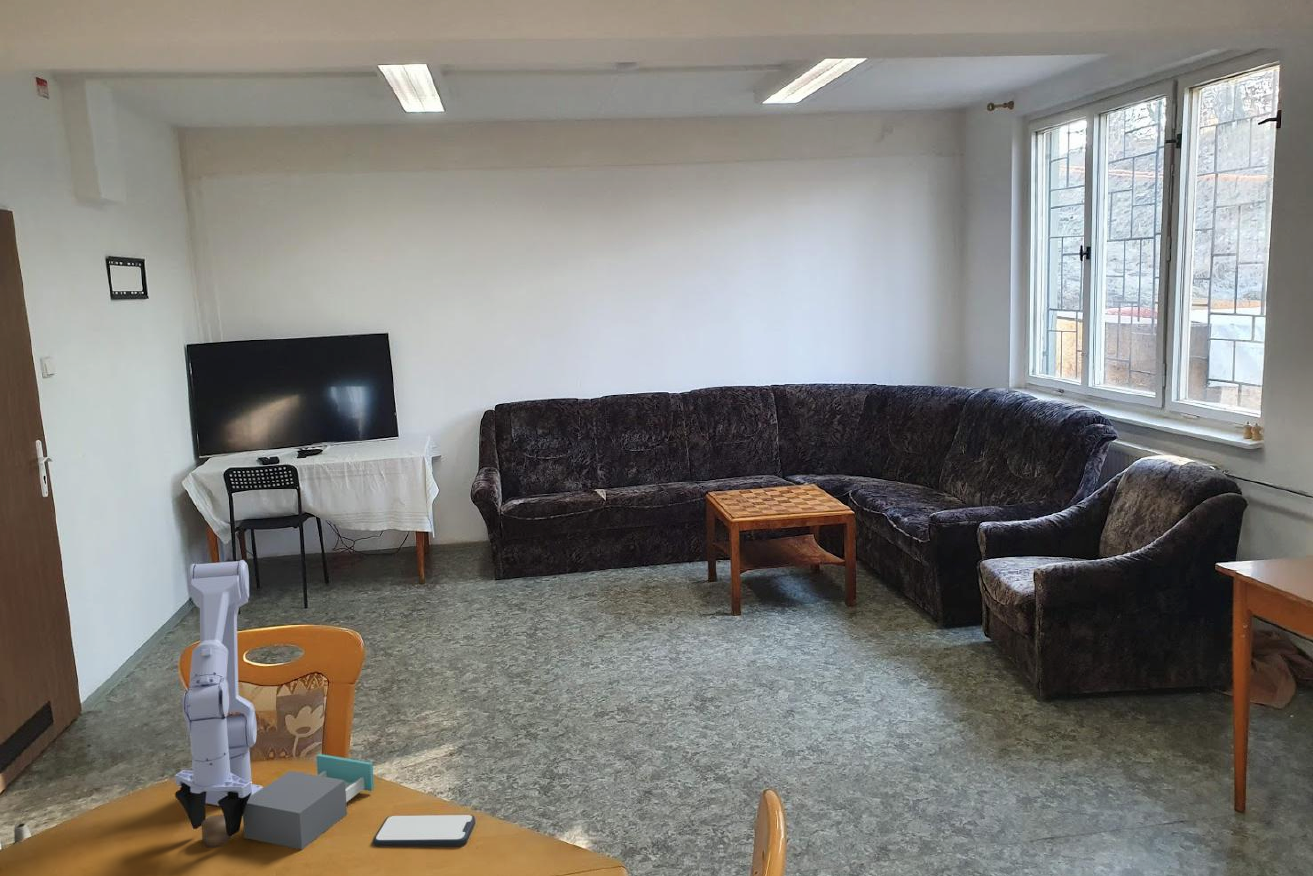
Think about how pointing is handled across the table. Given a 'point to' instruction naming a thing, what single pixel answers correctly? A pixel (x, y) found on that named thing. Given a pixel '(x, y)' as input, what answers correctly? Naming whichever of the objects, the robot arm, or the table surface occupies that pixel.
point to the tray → (347, 773)
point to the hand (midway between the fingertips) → (216, 829)
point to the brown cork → (214, 831)
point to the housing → (295, 809)
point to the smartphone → (425, 831)
